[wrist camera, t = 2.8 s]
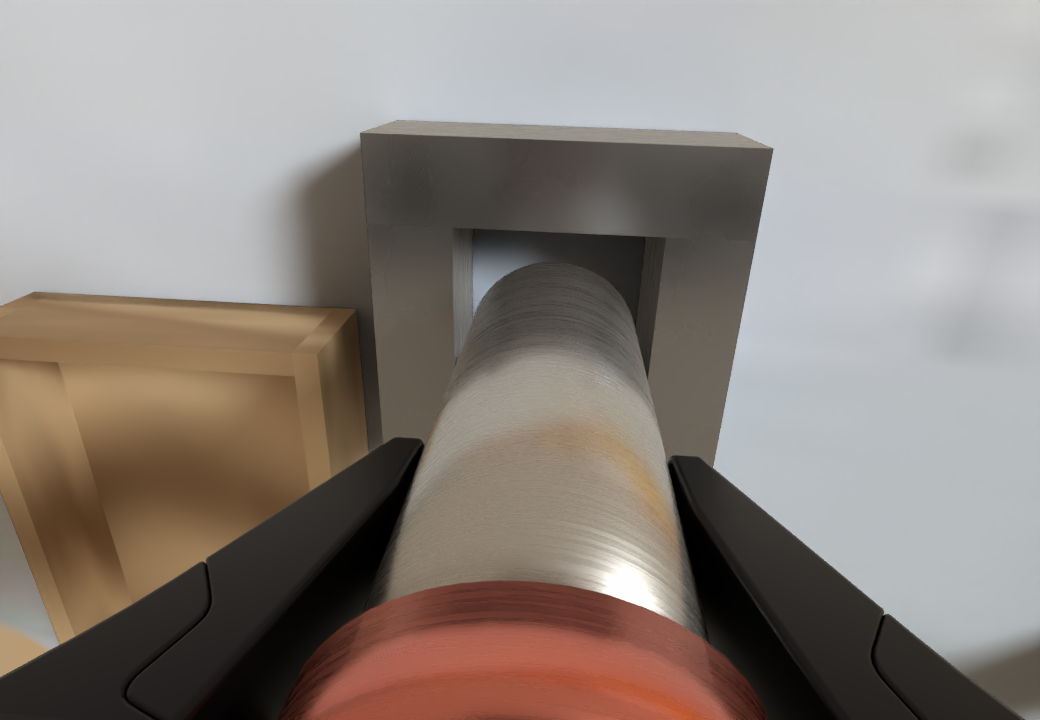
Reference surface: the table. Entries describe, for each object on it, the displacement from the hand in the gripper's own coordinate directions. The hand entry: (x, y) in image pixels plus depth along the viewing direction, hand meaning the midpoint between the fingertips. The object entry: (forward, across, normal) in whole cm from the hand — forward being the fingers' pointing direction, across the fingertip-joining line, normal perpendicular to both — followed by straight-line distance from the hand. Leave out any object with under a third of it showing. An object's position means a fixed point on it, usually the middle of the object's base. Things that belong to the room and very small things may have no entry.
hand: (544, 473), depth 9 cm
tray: (+8, +10, +8) cm, 15 cm away
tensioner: (+9, 0, +3) cm, 9 cm away
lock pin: (+5, 0, 0) cm, 5 cm away
